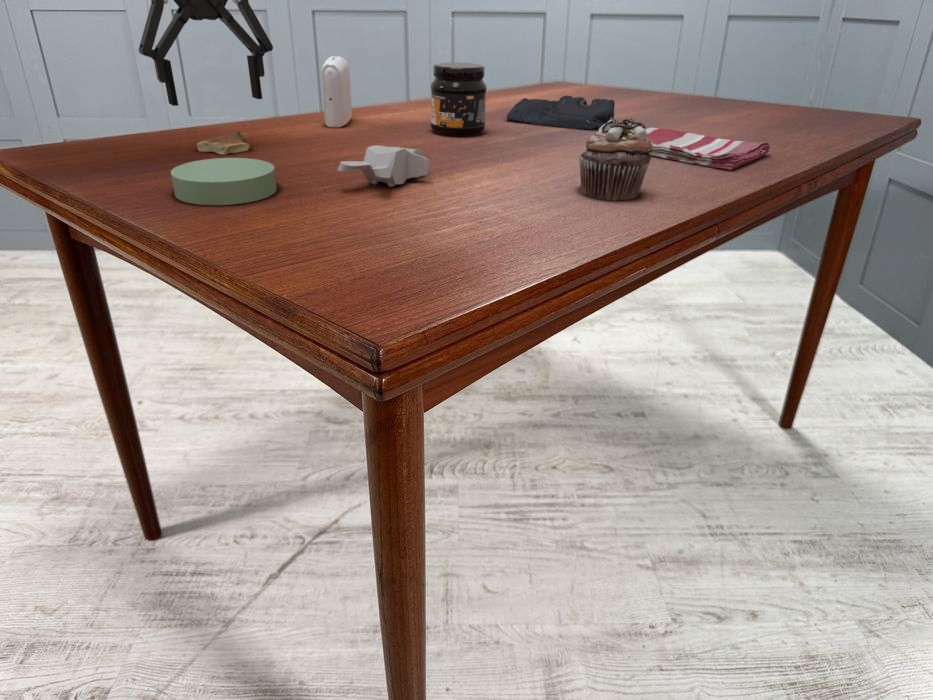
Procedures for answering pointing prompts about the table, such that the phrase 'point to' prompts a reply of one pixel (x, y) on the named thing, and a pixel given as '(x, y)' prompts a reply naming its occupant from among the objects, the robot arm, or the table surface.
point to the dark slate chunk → (563, 112)
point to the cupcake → (615, 161)
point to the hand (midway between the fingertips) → (216, 101)
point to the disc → (224, 181)
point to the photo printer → (336, 92)
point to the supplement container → (458, 99)
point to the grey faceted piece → (389, 164)
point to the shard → (224, 144)
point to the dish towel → (703, 148)
